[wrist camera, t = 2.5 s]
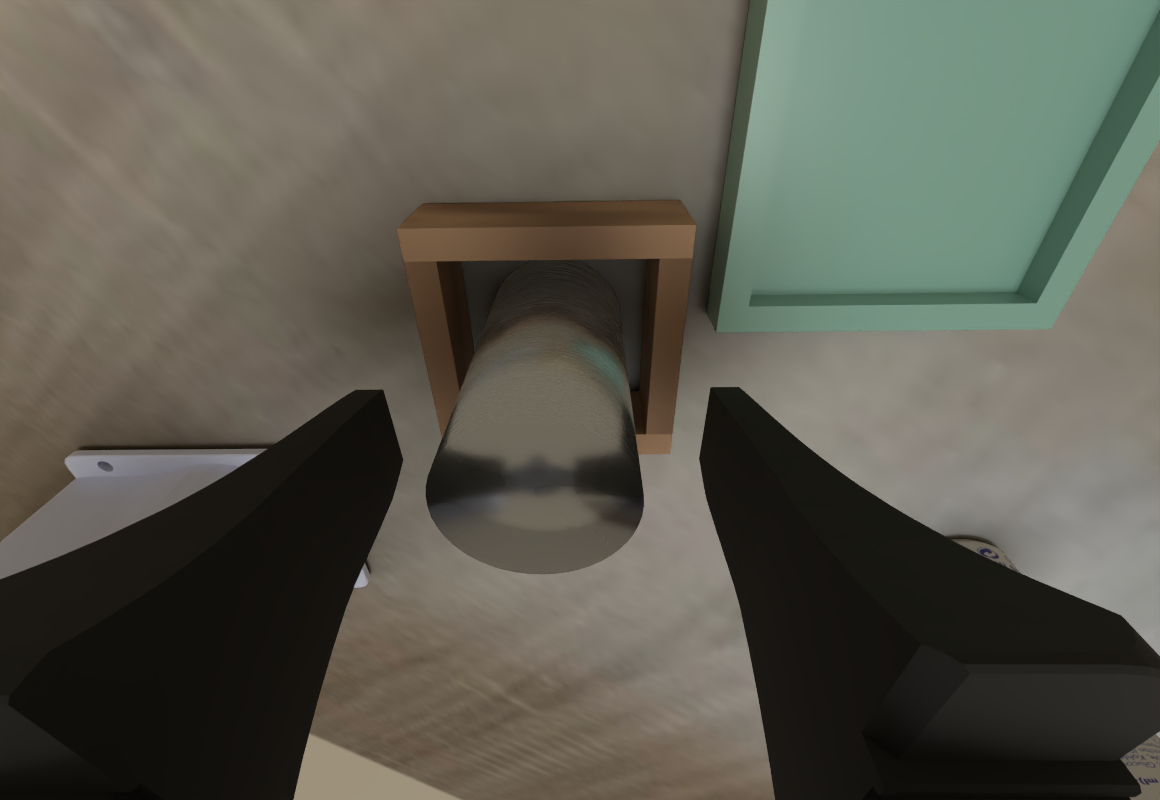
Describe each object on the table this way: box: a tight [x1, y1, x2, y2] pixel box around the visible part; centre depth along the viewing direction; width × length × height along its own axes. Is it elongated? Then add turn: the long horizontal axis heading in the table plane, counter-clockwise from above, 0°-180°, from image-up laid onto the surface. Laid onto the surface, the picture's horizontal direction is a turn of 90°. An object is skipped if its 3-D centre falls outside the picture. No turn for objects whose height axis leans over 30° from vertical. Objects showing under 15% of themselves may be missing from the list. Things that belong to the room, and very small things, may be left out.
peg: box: [426, 260, 644, 574], centre depth 13 cm, size 4×4×8 cm
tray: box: [706, 0, 1160, 333], centre depth 12 cm, size 10×10×1 cm
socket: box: [397, 200, 696, 454], centre depth 15 cm, size 7×7×2 cm
